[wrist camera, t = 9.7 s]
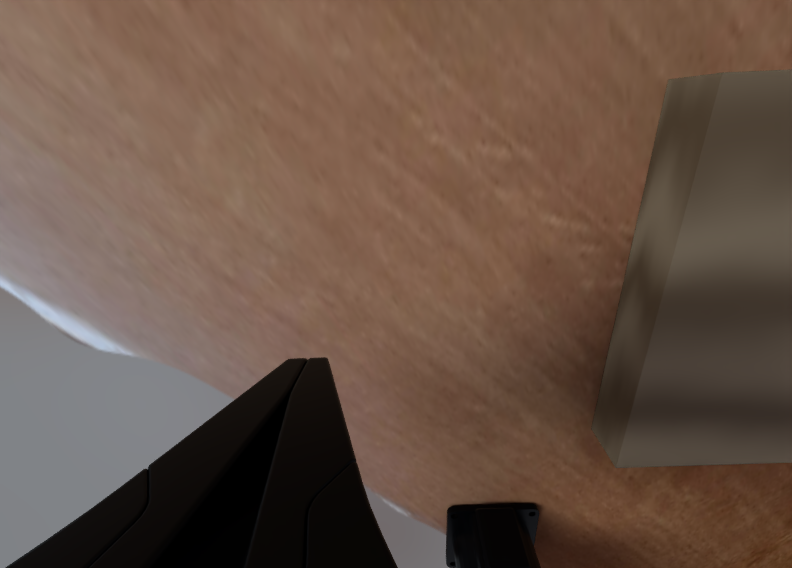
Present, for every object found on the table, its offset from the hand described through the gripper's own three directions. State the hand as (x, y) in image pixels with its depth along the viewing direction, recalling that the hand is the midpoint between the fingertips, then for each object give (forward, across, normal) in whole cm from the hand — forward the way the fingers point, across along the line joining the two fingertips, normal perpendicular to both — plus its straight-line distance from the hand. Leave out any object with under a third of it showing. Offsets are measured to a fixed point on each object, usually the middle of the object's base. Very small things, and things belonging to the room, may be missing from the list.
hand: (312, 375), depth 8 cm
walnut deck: (+12, -21, +4) cm, 25 cm away
